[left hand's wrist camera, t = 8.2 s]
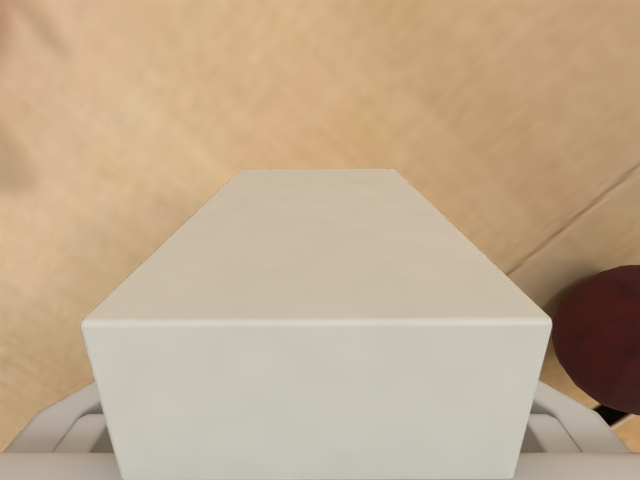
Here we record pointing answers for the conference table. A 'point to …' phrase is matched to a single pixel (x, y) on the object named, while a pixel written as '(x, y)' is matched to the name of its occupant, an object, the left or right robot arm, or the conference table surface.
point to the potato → (603, 337)
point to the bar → (316, 340)
